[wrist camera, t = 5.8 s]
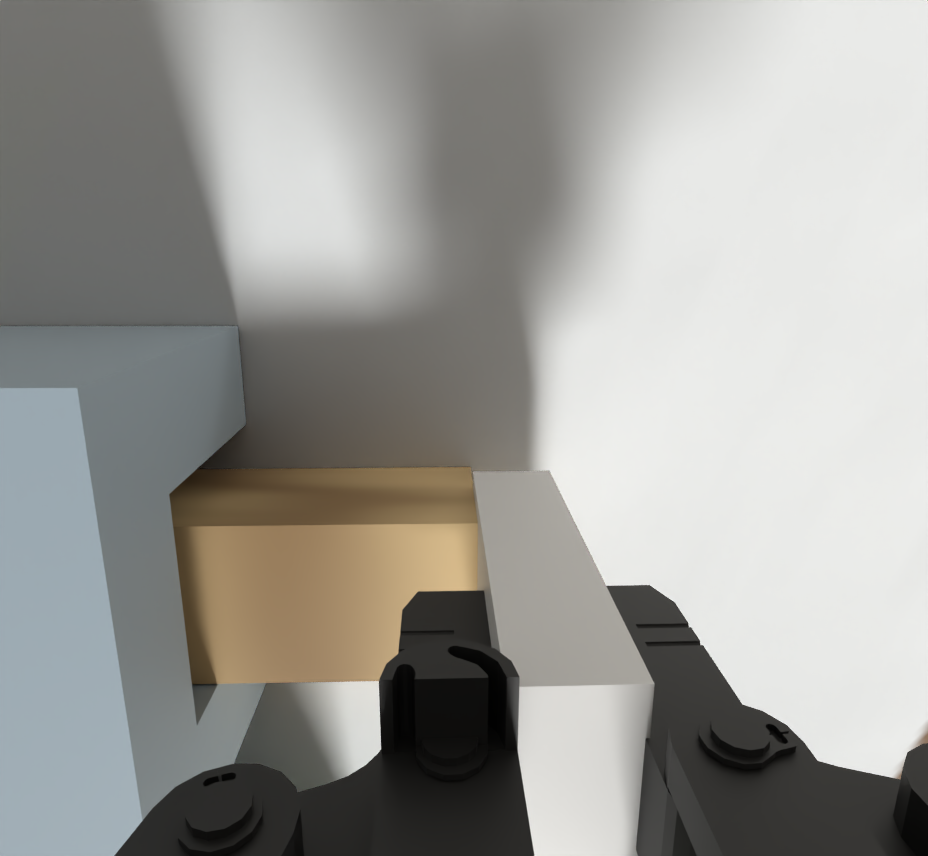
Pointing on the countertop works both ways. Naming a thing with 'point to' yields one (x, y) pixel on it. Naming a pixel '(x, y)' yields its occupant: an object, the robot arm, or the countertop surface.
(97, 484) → the block
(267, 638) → the tan rectangular bar
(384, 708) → the robot arm
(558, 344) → the countertop surface
